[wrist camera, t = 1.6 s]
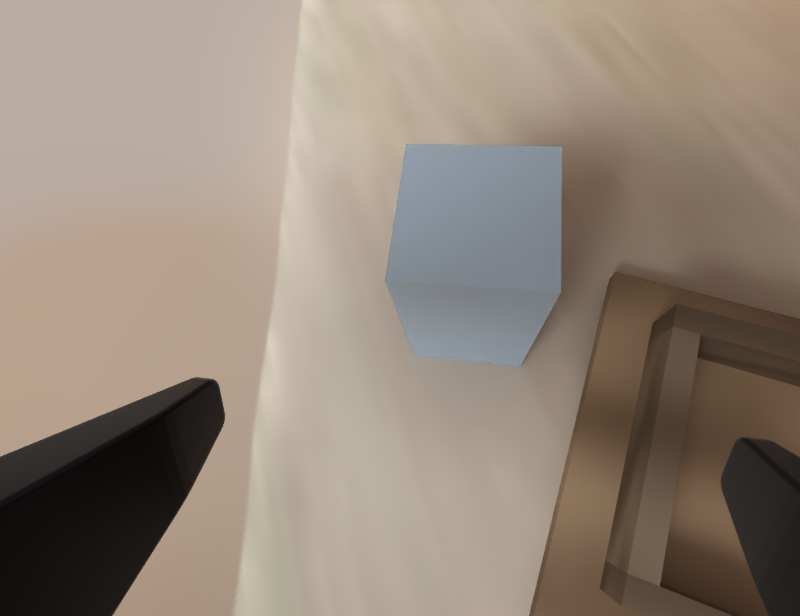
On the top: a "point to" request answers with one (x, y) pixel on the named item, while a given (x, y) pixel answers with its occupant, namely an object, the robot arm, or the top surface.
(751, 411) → the cradle
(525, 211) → the block
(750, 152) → the top surface
